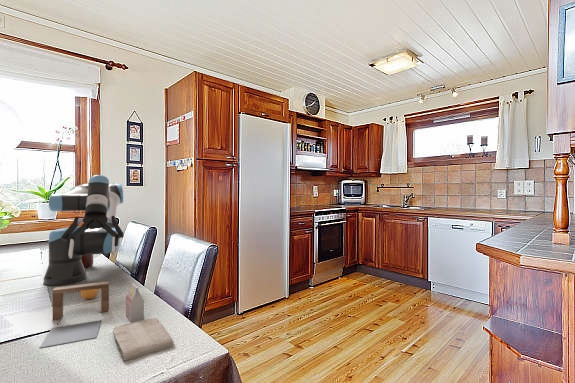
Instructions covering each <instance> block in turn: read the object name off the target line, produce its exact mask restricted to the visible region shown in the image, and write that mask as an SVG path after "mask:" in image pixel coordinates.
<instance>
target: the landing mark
mask: <svg viewBox="0 0 575 383" xmlns="http://www.w3.org/2000/svg"><path fill="white" fill-rule="evenodd" d="M101 325H102V319H99V320H93V321H88V322H81V323H76V324H69V325H63V326H57V327H55V326H54V327H52V328H50V331H49V332H48V333H47V335H46V336H45V338H44V339H43V341H42V343H41V345H40V346H39V349H43V348H50V347H54V346H61V345H65V344H70V343H76V342H81V341H87V340H94V339H97V338H98V334H99V330H100V327H101Z"/></svg>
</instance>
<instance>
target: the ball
mask: <svg viewBox="0 0 575 383" xmlns="http://www.w3.org/2000/svg"><path fill="white" fill-rule="evenodd" d="M91 283H92V282H91ZM91 283H88V284H91ZM99 290H100V289H92V290H84V291H80V295H81V297H82V298H83V299H85V300H90V299H91V300H92V299H94V298H95V297H96V296H97V295H98V293H99V292H100V291H99Z"/></svg>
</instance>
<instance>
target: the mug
mask: <svg viewBox="0 0 575 383" xmlns="http://www.w3.org/2000/svg"><path fill="white" fill-rule="evenodd" d="M81 260H82V264H83V266H84V268H86V269H89V268H88V267H91V268H92V267H93V266H94V254H92V255H82V256H81Z"/></svg>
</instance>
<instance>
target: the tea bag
mask: <svg viewBox="0 0 575 383" xmlns="http://www.w3.org/2000/svg"><path fill="white" fill-rule="evenodd" d="M125 317H126V318H127V320H128V322H129V323H135V322H141V321H144V320H145V299H144V298H143V296H142V295H141V294H140V291H139V288H138V287H137V286H136V285H135V284H134V283H131V284H130V287H129V290H128V292H127V294H126V296H125Z"/></svg>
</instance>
